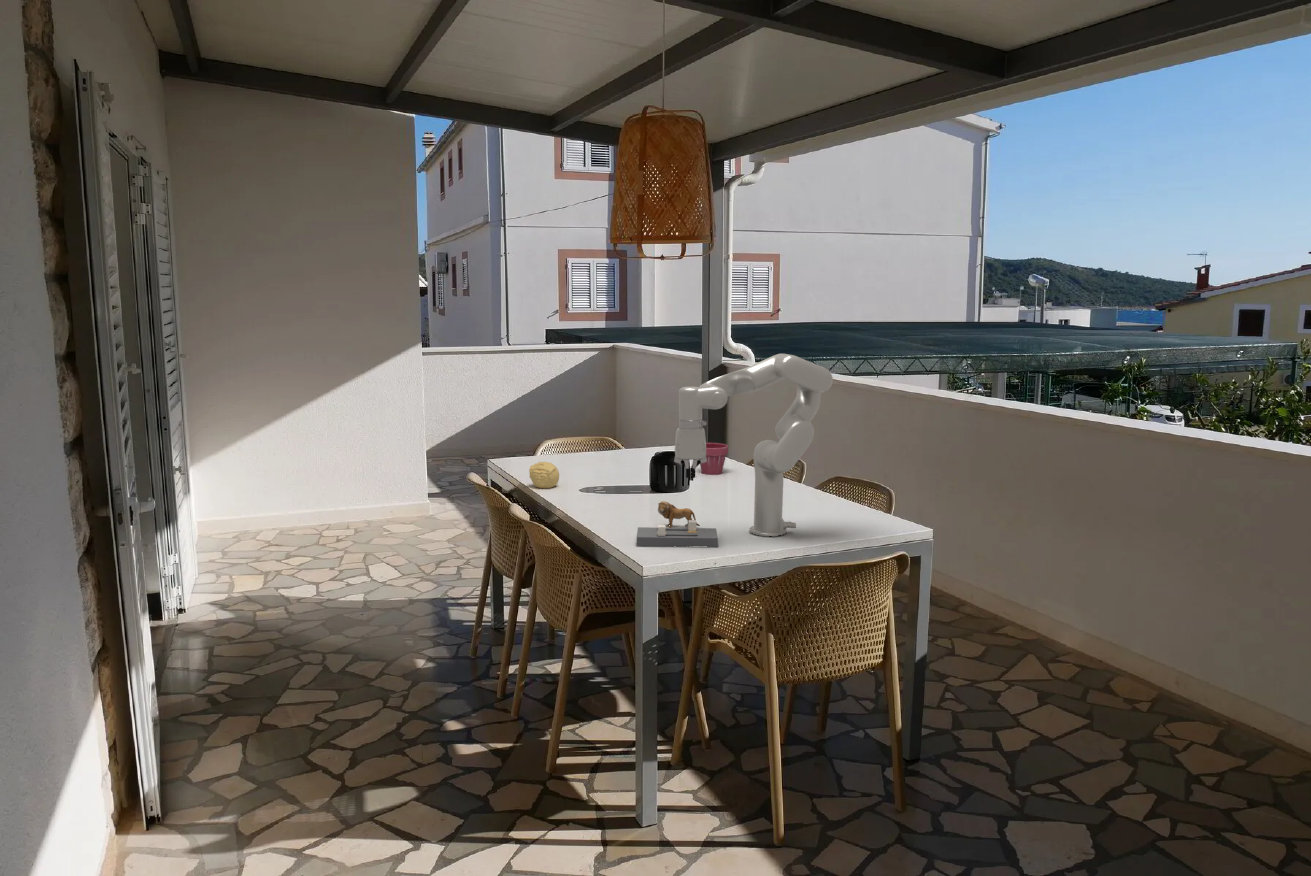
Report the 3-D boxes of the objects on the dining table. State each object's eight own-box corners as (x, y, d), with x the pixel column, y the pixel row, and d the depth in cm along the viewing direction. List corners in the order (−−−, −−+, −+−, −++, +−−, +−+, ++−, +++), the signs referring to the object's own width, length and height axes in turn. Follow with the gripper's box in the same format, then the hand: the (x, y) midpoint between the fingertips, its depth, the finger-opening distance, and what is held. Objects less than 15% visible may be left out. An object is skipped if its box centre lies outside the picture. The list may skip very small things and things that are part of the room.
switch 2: (695, 531, 314) (696, 520, 314) (696, 533, 311) (696, 522, 311) (688, 531, 314) (688, 520, 314) (688, 533, 311) (688, 522, 311)
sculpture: (525, 488, 391) (525, 462, 389) (539, 483, 402) (539, 458, 400) (550, 490, 387) (550, 464, 385) (563, 485, 398) (563, 460, 397)
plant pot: (720, 477, 419) (720, 448, 417) (691, 474, 425) (691, 446, 423) (732, 471, 432) (732, 444, 430) (703, 469, 438) (704, 441, 436)
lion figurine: (657, 528, 327) (657, 502, 326) (657, 524, 332) (658, 499, 331) (700, 529, 327) (700, 503, 325) (699, 525, 332) (700, 500, 330)
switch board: (715, 537, 316) (715, 527, 315) (717, 547, 303) (718, 537, 303) (637, 536, 316) (637, 527, 316) (636, 546, 303) (636, 536, 303)
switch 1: (665, 536, 307) (665, 525, 307) (665, 538, 304) (665, 527, 304) (657, 536, 307) (657, 524, 307) (657, 538, 304) (657, 527, 304)
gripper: (712, 422, 312) (712, 477, 315) (667, 423, 312) (667, 478, 315) (714, 426, 305) (714, 482, 308) (667, 426, 305) (668, 482, 308)
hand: (690, 479), depth 312 cm, fingers closed
